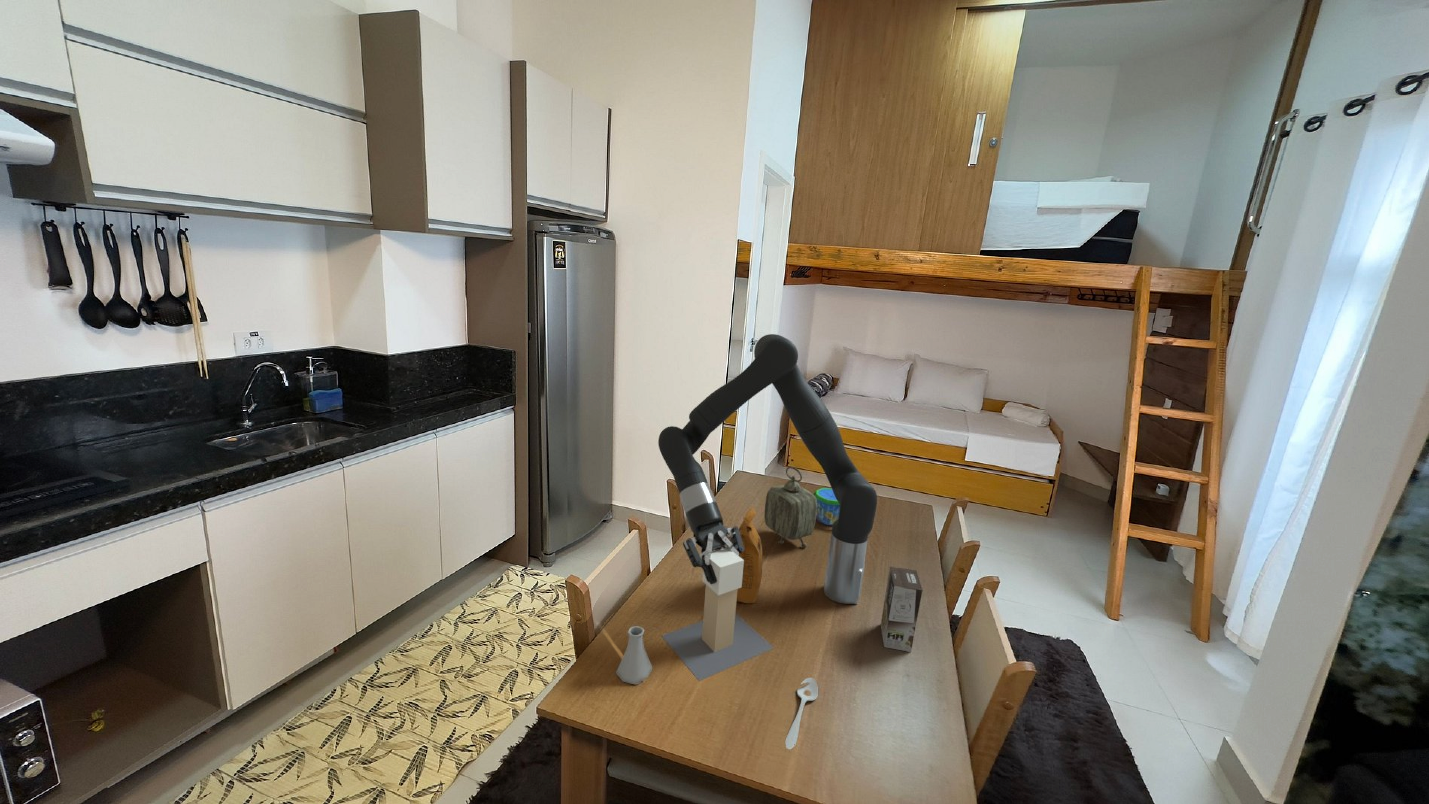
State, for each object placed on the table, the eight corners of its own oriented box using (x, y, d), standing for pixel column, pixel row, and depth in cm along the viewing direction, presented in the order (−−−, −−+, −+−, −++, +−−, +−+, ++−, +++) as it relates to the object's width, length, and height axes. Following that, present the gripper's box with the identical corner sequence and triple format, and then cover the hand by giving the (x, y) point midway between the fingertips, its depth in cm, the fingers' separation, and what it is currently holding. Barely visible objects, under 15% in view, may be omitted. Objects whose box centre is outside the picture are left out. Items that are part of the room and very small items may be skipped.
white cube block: (725, 573, 126) (727, 547, 124) (741, 587, 121) (743, 560, 119) (702, 580, 122) (704, 553, 121) (718, 595, 117) (720, 567, 116)
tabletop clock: (812, 549, 170) (821, 473, 164) (790, 556, 165) (798, 478, 159) (781, 529, 182) (789, 457, 176) (759, 535, 177) (766, 462, 171)
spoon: (820, 687, 115) (821, 680, 115) (796, 765, 97) (796, 757, 96) (801, 680, 117) (802, 673, 116) (773, 756, 98) (774, 748, 98)
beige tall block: (719, 632, 129) (724, 570, 125) (732, 644, 125) (738, 581, 121) (701, 639, 126) (706, 576, 122) (714, 652, 122) (719, 587, 118)
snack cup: (855, 528, 186) (859, 501, 184) (830, 534, 181) (834, 505, 179) (825, 509, 199) (829, 483, 197) (802, 514, 194) (805, 487, 192)
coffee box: (912, 652, 127) (923, 590, 123) (883, 647, 128) (893, 585, 124) (907, 628, 136) (917, 569, 132) (880, 623, 137) (889, 565, 133)
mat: (731, 611, 137) (732, 609, 137) (773, 650, 125) (773, 648, 124) (661, 638, 126) (661, 635, 126) (699, 683, 113) (699, 680, 113)
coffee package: (764, 583, 151) (771, 508, 145) (756, 609, 139) (764, 529, 134) (728, 576, 153) (734, 502, 147) (718, 601, 141) (724, 522, 136)
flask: (636, 690, 110) (638, 647, 108) (609, 674, 114) (610, 632, 112) (659, 669, 116) (661, 628, 114) (632, 655, 120) (634, 615, 118)
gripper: (680, 507, 119) (707, 583, 113) (733, 495, 127) (761, 565, 121) (666, 519, 125) (691, 592, 118) (719, 507, 133) (745, 575, 126)
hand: (727, 578), depth 120 cm, fingers closed on white cube block, 6 cm apart
